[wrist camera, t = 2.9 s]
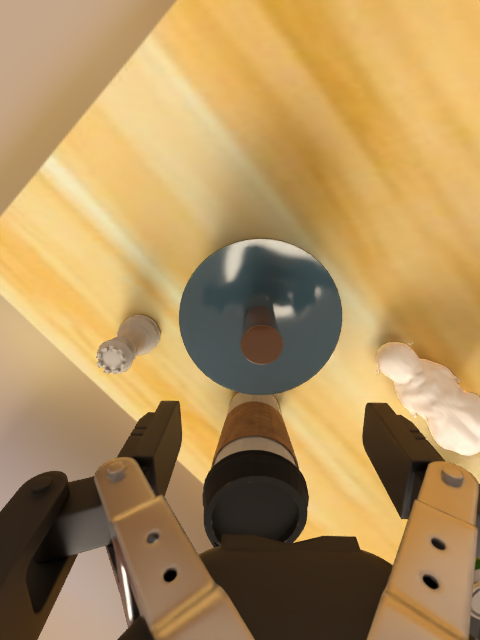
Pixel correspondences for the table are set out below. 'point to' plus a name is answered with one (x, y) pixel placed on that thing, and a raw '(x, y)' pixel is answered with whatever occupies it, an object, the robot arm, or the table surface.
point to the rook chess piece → (128, 344)
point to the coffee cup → (255, 476)
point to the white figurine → (433, 397)
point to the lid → (260, 316)
